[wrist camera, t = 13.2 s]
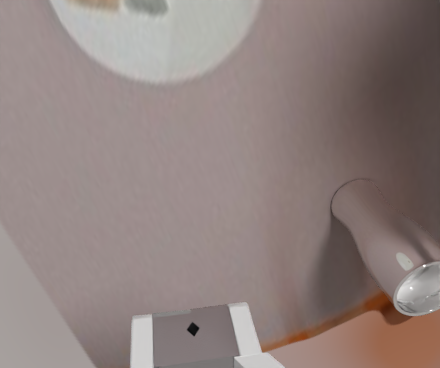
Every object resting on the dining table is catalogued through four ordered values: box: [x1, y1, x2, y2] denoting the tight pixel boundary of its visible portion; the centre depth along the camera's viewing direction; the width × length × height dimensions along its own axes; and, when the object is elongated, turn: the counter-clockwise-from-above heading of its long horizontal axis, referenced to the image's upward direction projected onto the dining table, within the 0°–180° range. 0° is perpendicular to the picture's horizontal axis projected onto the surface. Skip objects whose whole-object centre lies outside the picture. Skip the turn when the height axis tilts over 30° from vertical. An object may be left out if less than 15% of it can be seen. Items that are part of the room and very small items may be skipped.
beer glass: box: [331, 179, 440, 316], centre depth 43 cm, size 7×7×15 cm
